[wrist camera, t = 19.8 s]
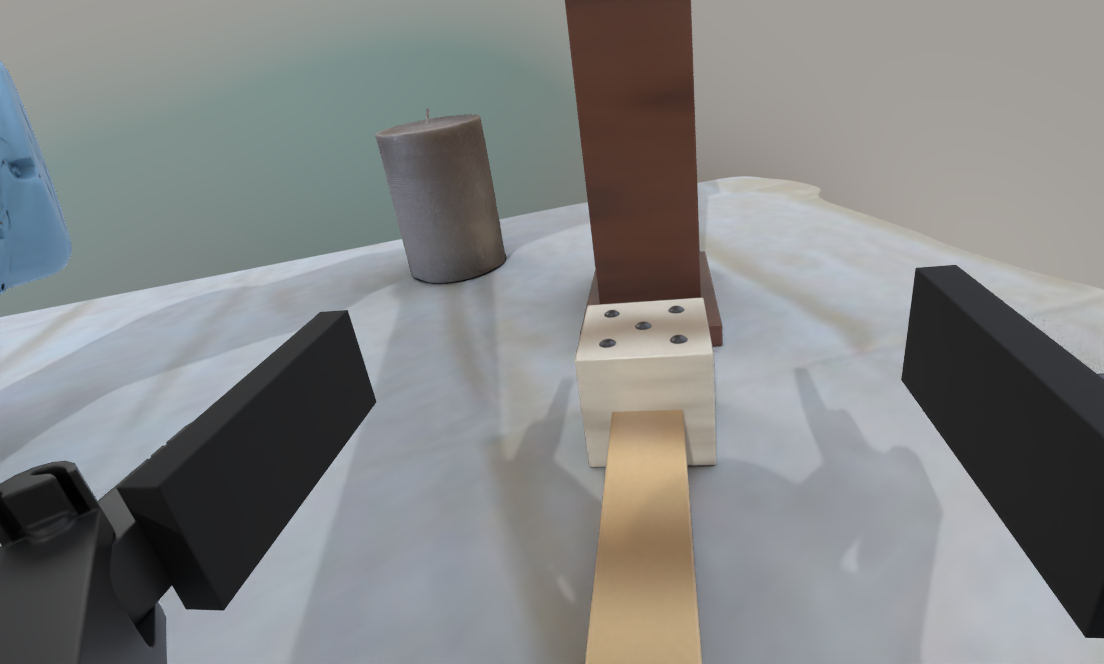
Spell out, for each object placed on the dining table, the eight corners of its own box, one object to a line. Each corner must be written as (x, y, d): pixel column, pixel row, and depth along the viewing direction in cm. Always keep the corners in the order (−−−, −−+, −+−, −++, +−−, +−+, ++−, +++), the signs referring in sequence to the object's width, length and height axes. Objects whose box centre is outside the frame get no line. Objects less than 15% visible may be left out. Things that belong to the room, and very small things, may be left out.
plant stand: (599, 276, 52) (554, -123, 40) (705, 267, 50) (693, -153, 38) (582, 353, 40) (510, -190, 28) (722, 345, 38) (711, -238, 26)
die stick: (599, 400, 34) (586, 301, 32) (706, 396, 33) (703, 293, 31) (528, 881, 15) (481, 731, 12) (780, 912, 14) (788, 753, 11)
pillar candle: (511, 245, 64) (485, 96, 58) (500, 278, 55) (468, 106, 49) (423, 255, 65) (388, 110, 59) (398, 289, 56) (353, 123, 50)
